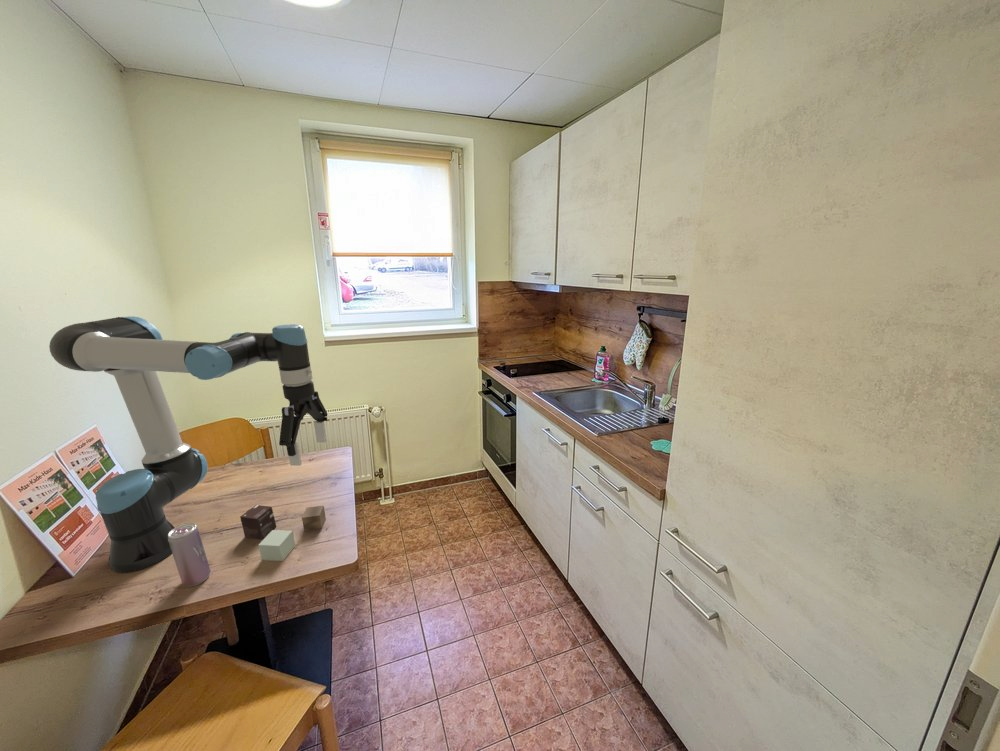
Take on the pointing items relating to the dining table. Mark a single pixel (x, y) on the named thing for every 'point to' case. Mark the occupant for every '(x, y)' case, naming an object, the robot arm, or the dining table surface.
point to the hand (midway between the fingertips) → (309, 452)
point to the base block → (277, 545)
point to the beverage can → (189, 554)
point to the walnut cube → (313, 518)
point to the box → (258, 522)
